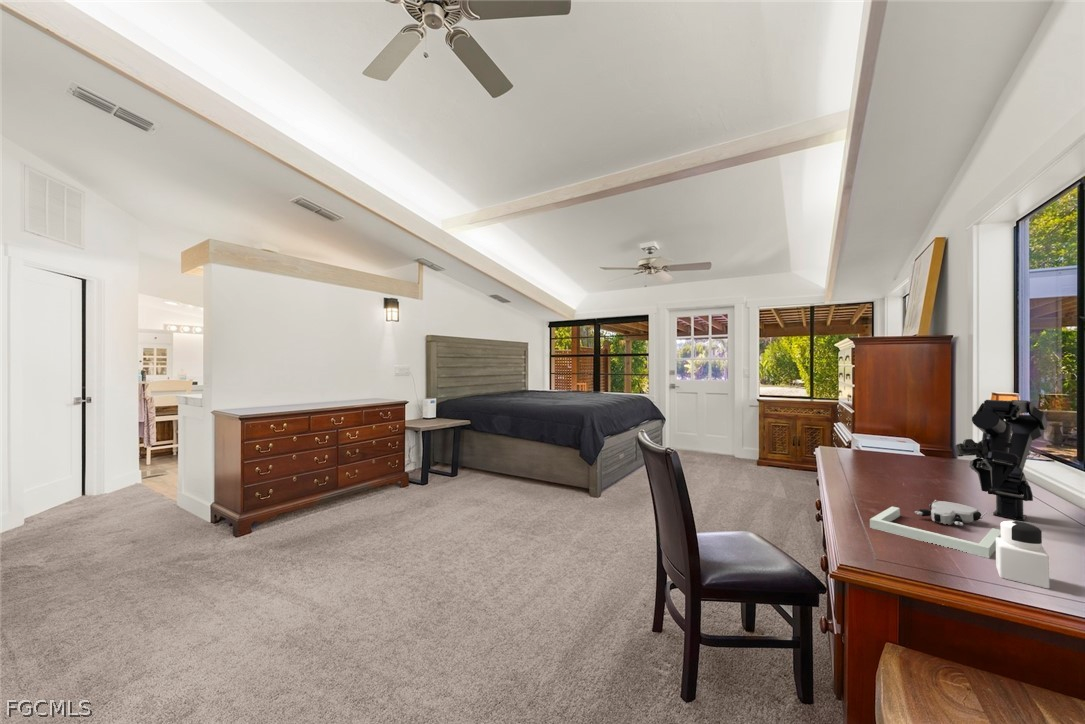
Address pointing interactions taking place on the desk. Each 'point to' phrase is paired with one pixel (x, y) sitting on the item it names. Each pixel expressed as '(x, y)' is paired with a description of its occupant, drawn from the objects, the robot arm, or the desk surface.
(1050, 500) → the desk surface
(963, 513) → the robot toy
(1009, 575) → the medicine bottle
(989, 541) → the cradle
